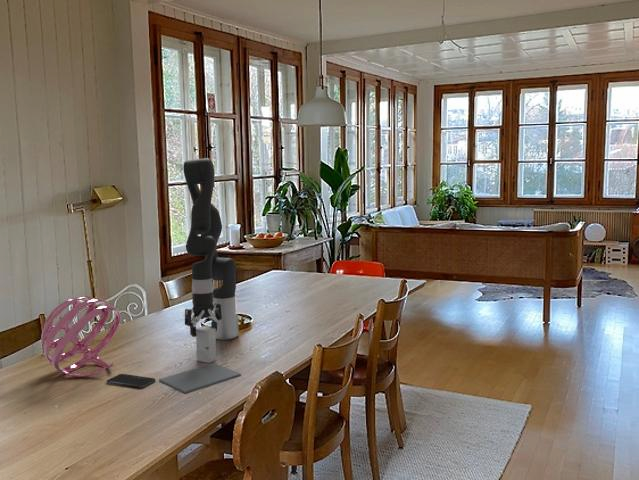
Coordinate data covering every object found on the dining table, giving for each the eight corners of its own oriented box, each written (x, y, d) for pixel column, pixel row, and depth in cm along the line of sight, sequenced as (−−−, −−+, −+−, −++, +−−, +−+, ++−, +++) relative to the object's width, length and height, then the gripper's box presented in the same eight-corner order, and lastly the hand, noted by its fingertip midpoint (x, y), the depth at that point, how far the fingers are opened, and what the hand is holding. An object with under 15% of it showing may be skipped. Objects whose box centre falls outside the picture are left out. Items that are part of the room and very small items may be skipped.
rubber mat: (213, 364, 219) (213, 362, 219) (240, 375, 208) (240, 373, 208) (159, 380, 204) (159, 379, 204) (185, 393, 193) (184, 391, 193)
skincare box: (196, 360, 224) (194, 328, 222) (204, 357, 228) (202, 325, 226) (209, 363, 221) (207, 330, 219) (217, 359, 225) (215, 327, 223)
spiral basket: (150, 315, 213) (96, 269, 219) (87, 356, 191) (28, 303, 197) (134, 364, 229) (83, 320, 235) (74, 407, 207) (19, 357, 213)
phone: (141, 387, 197) (104, 381, 203) (141, 390, 197) (105, 384, 203) (156, 378, 204) (121, 373, 210) (157, 381, 204) (121, 376, 210)
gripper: (213, 286, 228) (214, 328, 230) (179, 292, 219) (181, 336, 220) (224, 289, 223) (226, 332, 225) (191, 295, 213) (192, 340, 215)
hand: (204, 334), depth 223 cm, fingers open, 8 cm apart
